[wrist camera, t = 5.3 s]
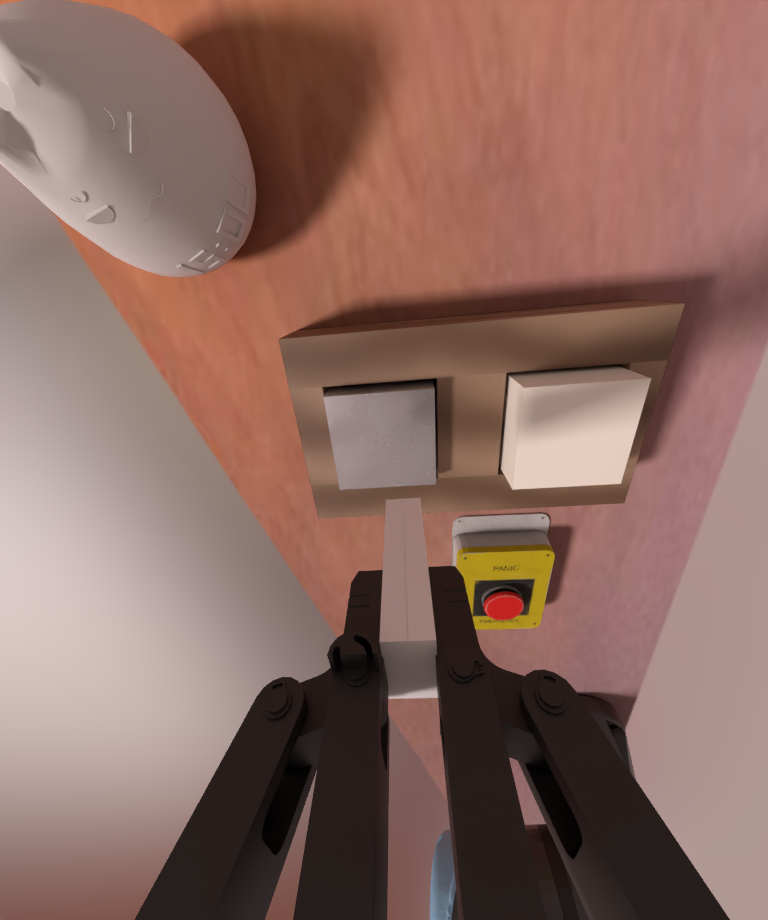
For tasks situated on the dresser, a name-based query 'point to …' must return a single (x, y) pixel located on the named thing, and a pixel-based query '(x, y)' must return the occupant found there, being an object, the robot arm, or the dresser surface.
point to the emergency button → (504, 567)
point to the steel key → (383, 433)
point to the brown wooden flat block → (470, 393)
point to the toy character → (123, 136)
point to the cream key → (570, 426)
